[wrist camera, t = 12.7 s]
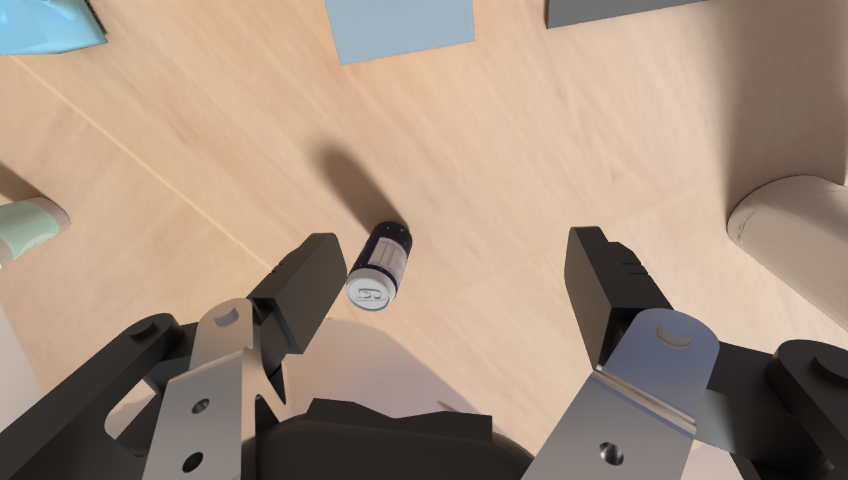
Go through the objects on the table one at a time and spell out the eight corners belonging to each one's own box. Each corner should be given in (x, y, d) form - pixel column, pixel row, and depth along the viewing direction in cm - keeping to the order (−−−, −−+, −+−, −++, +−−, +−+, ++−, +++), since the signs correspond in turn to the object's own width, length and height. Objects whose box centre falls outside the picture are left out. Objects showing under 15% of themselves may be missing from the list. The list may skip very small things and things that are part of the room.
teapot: (102, -37, 30) (5, -57, 24) (141, 36, 34) (64, 35, 27) (15, -10, 33) (-93, -22, 27) (59, 55, 36) (-29, 58, 30)
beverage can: (371, 217, 42) (337, 272, 32) (412, 219, 41) (391, 276, 31) (375, 251, 45) (346, 312, 35) (414, 254, 44) (395, 317, 34)
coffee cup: (42, 230, 53) (-59, 275, 43) (11, 184, 48) (-112, 221, 38) (89, 239, 52) (-4, 286, 42) (61, 193, 47) (-50, 233, 37)
